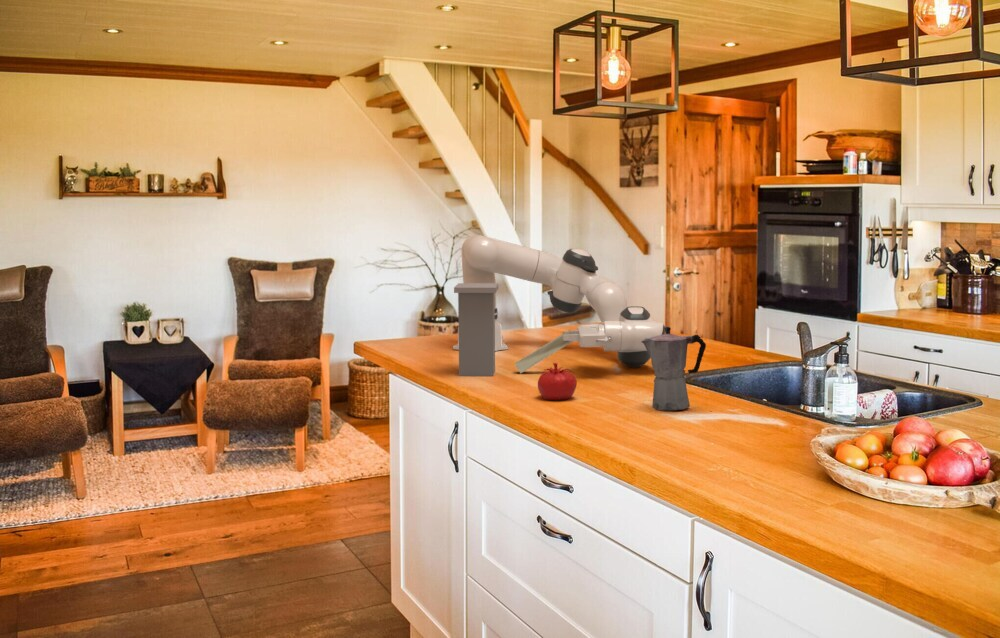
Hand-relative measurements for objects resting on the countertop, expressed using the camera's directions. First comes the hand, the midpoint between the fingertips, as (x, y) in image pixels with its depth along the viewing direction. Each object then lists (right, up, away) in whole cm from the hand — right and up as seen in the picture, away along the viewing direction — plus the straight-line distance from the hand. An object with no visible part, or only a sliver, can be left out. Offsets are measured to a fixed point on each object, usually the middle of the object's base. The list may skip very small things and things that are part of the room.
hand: (562, 336), depth 275 cm
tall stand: (-25, -11, +3) cm, 27 cm away
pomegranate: (-4, -16, -33) cm, 37 cm away
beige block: (-4, -6, +1) cm, 7 cm away
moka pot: (+24, -17, -45) cm, 54 cm away
